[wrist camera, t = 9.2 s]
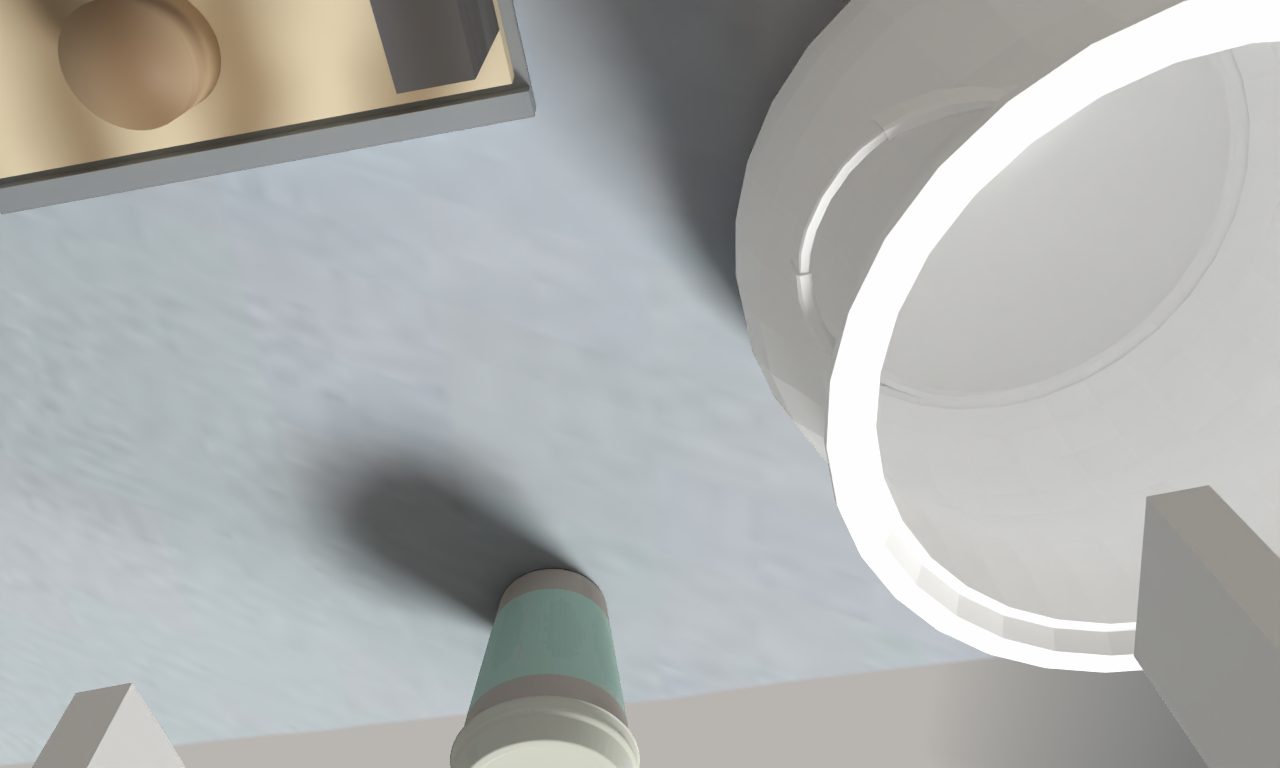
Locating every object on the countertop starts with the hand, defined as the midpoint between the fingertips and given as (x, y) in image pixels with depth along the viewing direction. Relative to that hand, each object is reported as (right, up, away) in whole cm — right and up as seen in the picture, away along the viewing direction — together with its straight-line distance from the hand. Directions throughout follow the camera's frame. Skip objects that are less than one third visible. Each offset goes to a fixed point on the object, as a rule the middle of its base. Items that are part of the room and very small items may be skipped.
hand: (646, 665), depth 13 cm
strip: (-16, +17, +25) cm, 34 cm away
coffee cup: (-5, -8, +40) cm, 42 cm away
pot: (+16, +12, +30) cm, 36 cm away
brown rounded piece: (-18, +16, +23) cm, 33 cm away
